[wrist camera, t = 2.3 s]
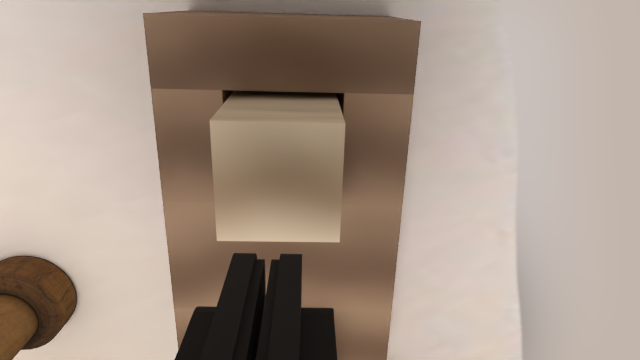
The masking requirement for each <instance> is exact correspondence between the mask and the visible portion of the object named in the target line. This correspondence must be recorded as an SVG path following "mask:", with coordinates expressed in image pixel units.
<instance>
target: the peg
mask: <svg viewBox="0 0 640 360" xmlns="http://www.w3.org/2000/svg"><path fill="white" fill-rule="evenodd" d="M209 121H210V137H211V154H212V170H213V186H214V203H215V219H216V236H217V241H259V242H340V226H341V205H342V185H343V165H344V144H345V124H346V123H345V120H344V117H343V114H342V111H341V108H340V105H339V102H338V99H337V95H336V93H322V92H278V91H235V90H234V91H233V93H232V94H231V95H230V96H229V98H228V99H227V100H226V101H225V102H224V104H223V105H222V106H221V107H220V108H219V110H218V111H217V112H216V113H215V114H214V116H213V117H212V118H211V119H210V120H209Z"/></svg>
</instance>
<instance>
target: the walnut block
mask: <svg viewBox="0 0 640 360" xmlns="http://www.w3.org/2000/svg"><path fill="white" fill-rule="evenodd" d="M143 17H144V27H145V36H146V46H147V55H148V65H149V74H150V84H151V93H152V103H153V112H154V122H155V131H156V141H157V150H158V160H159V169H160V179H161V188H162V197H163V207H164V216H165V226H166V235H167V245H168V254H169V264H170V273H171V283H172V292H173V302H174V311H175V321H176V330H177V340H178V349H179V348H180V345H181V343H182V340H183V337H184V335H185V332H186V330H187V327H188V324H189V322H190V319H191V317H192V314H193V312H194V310H195V308H196V307H197V306H210V307H217V303H218V300H219V297H220V294H221V291H222V288H223V285H224V281H225V278H226V275H227V272H228V269H229V266H230V262H231V259H232V256H233V254H234V253H256V254H257V259H265V279H266V291H267V284H268V278H269V272H270V265H271V260H272V259H280V254H302V305H301V307H303V308H333V311H334V323H335V336H336V349H337V360H387V350H388V340H389V330H390V320H391V310H392V301H393V291H394V281H395V271H396V261H397V252H398V242H399V232H400V222H401V212H402V203H403V193H404V183H405V173H406V163H407V153H408V144H409V134H410V124H411V114H412V104H413V95H414V85H415V75H416V65H417V55H418V46H419V36H420V26H421V21H415V20H409V19H402V18H396V17H388V16H354V15H319V14H285V13H250V12H216V11H175V12H159V13H143ZM234 90H235V91H278V92H322V93H336V95H337V99H338V102H339V105H340V108H341V111H342V114H343V117H344V120H345V123H346V124H345V144H344V165H343V185H342V205H341V226H340V242H259V241H217V236H216V219H215V203H214V186H213V170H212V154H211V137H210V121H209V120H210V119H211V118H212V117H213V116H214V114H215V113H216V112H217V111H218V110H219V108H220V107H221V106H222V105H223V104H224V102H225V101H226V100H227V99H228V98H229V96H230V95H231V94H232V93H233V91H234Z"/></svg>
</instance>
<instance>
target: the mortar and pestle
mask: <svg viewBox="0 0 640 360" xmlns="http://www.w3.org/2000/svg"><path fill="white" fill-rule="evenodd" d="M75 307H76V293H75V289H74V287H73V285H72V283H71V281H70V280H69V278H68V277H67V276H66V275H65V274H64V273H63V272H62V271H61V270H60V269H59V268H58V267H56V266H55V265H53V264H52V263H50V262H48V261H45V260H43V259H40V258H36V257H28V256H19V257H12V258H8V259H5V260H3V261H1V262H0V360H12V359H13V358H14V357H15V356H16V355H17V353H18V352H19V351H20V350H25V349H34V348H37V347H40V346H43V345H45V344H47V343H48V342H50V341H51V340H52V339H53V338H54V337H55V336H56V335H57V334H58V333H59V331H60V330H61V329H62V327H63V326H64V325H65V324H66V323H67V321H68V320H69V319H70V317H71V316H72V314H73V312H74V310H75Z"/></svg>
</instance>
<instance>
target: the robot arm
mask: <svg viewBox="0 0 640 360" xmlns="http://www.w3.org/2000/svg"><path fill="white" fill-rule="evenodd" d="M301 305H302V254H280V259H272V260H271V265H270V272H269V278H268V284H267V291H266V279H265V259H257V254H256V253H234V254H233V256H232V259H231V262H230V266H229V269H228V272H227V275H226V278H225V281H224V285H223V288H222V291H221V294H220V297H219V300H218V303H217V307H210V306H197V307H196V308H195V310H194V312H193V314H192V317H191V319H190V322H189V324H188V327H187V330H186V332H185V335H184V337H183V340H182V343H181V345H180V348H179V350H178V353H177V355H176V358H175V360H337V349H336V336H335V323H334V311H333V308H303V307H301Z"/></svg>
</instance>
